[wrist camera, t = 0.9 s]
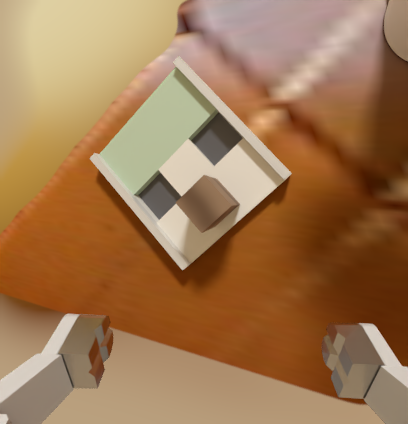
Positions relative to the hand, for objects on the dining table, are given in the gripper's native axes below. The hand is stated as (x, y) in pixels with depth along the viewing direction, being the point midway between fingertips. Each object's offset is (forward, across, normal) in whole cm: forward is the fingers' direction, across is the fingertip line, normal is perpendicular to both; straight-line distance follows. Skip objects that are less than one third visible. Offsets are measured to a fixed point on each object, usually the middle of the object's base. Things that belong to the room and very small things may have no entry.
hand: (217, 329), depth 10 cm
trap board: (+42, +5, +8) cm, 43 cm away
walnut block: (+36, -1, +12) cm, 38 cm away
